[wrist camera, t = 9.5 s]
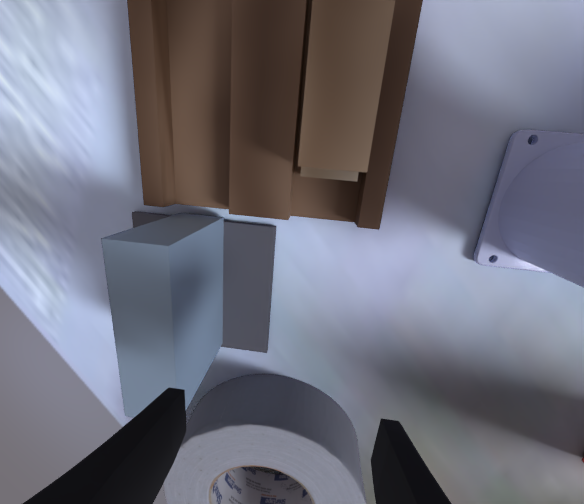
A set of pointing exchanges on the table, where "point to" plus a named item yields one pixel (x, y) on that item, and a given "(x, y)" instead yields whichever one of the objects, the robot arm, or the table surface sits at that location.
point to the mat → (242, 281)
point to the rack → (249, 109)
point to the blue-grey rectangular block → (165, 304)
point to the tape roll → (267, 447)
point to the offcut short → (343, 82)
